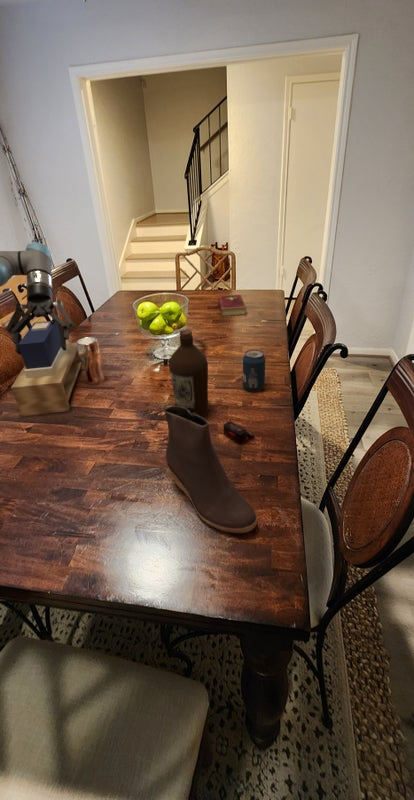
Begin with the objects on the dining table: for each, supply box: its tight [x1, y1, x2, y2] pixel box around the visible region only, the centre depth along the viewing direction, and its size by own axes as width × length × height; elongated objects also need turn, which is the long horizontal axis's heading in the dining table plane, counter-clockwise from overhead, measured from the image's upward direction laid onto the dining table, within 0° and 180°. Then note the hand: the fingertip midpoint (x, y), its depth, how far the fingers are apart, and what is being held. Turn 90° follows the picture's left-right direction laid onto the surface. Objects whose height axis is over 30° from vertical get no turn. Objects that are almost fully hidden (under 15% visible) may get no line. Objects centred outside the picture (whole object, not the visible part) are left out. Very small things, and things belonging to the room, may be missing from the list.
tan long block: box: [10, 342, 84, 417], centre depth 122 cm, size 14×30×10 cm, turn 8°
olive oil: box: [168, 328, 209, 418], centre depth 103 cm, size 11×11×25 cm
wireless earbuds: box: [223, 421, 255, 445], centre depth 97 cm, size 5×7×3 cm, turn 43°
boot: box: [163, 405, 258, 534], centre depth 74 cm, size 9×24×20 cm, turn 45°
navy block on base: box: [18, 320, 67, 378], centre depth 117 cm, size 22×8×11 cm, turn 8°
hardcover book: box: [218, 294, 247, 317], centre depth 186 cm, size 12×21×4 cm, turn 2°
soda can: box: [242, 349, 266, 393], centre depth 116 cm, size 7×7×12 cm
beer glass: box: [75, 336, 106, 386], centre depth 125 cm, size 7×7×15 cm
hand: (41, 351), depth 115 cm, fingers open, 13 cm apart
